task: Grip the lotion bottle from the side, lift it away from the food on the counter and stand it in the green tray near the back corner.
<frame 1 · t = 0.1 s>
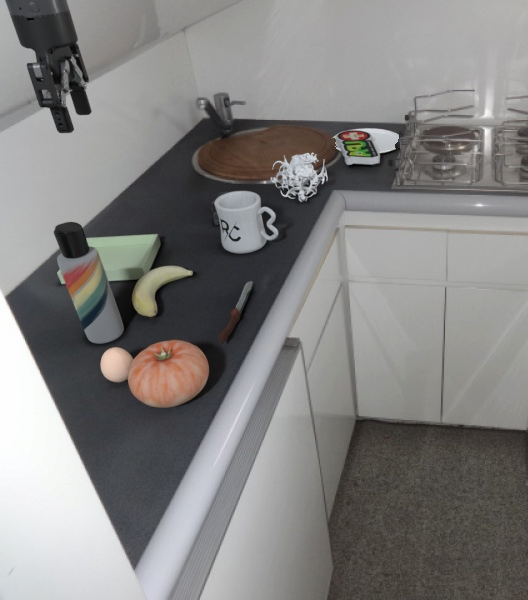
hand: (75, 123, 91), 30 cm above the counter, tool pointing down, fingers open, 8 cm apart
knife: (239, 316, 100), on the counter
egg: (123, 379, 87), on the counter
fruit: (163, 297, 105), on the counter
tomato: (175, 394, 85), on the counter
mug: (252, 245, 120), on the counter
plate: (366, 144, 167), on the counter, touching sign
sign: (375, 145, 159), point 3 cm above the counter, touching plate
figurine: (294, 148, 135), point 11 cm above the counter
lotion bottle: (106, 334, 96), on the counter
green tray: (113, 263, 114), on the counter
reflex sight: (226, 214, 132), on the counter
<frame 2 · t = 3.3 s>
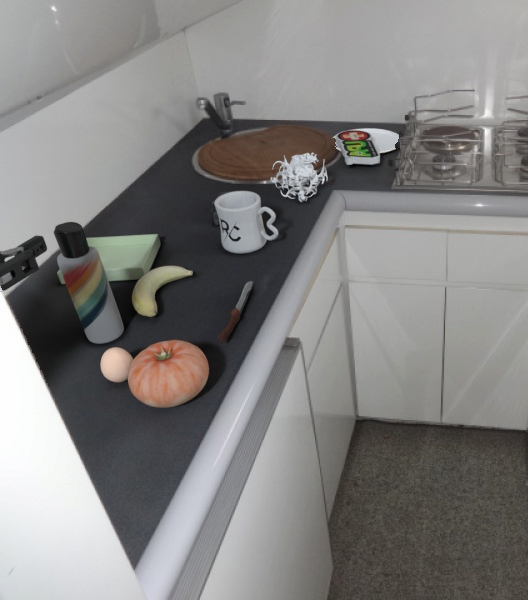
hand: (14, 239, 76), 22 cm above the counter, tool horizontal, fingers open, 8 cm apart
nothing on the counter moved.
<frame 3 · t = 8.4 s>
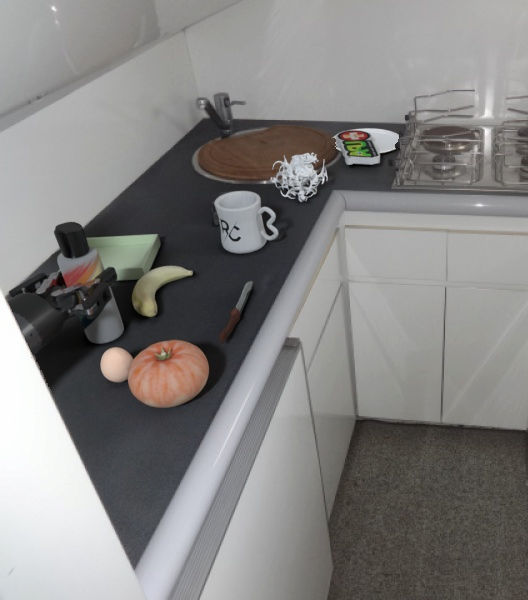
hand: (96, 269, 92), 11 cm above the counter, tool horizontal, fingers closed on lotion bottle, 5 cm apart
lotion bottle: (106, 334, 96), on the counter, touching gripper
everything else where it was.
when the fingers open (11 cm above the counter, at t = 17.6 s): lotion bottle stays where it is, resting on green tray.
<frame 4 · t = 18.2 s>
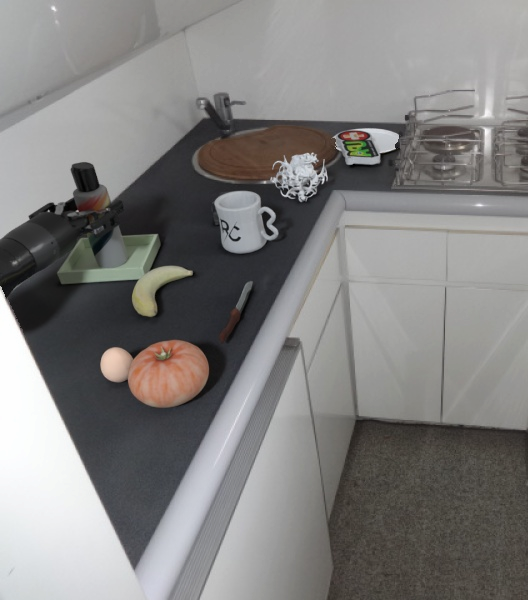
hand: (101, 202, 109), 12 cm above the counter, tool horizontal, fingers open, 8 cm apart
lotion bottle: (113, 262, 114), resting on green tray
everything else where it was.
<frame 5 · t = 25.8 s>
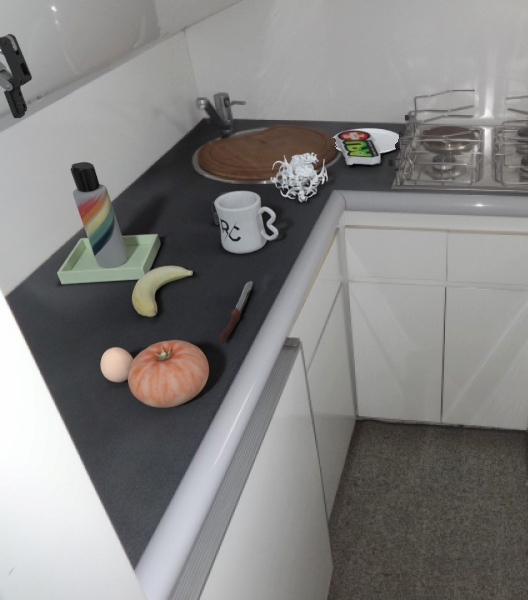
nothing on the counter moved.
at the end: lotion bottle inside the target area in the green tray (0.2 cm from its centre), point 0.3 cm above the green tray's base; lotion bottle tilted 0°; the gripper is holding nothing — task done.
